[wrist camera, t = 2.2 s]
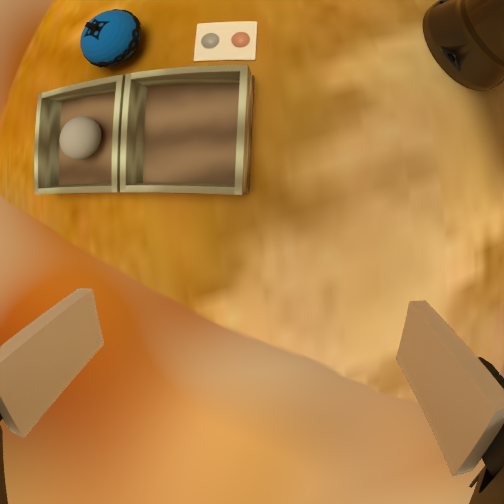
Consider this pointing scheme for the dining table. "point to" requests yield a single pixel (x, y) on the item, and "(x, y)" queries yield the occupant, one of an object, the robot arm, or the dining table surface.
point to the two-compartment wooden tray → (152, 132)
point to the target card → (225, 41)
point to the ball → (80, 137)
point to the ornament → (110, 37)
